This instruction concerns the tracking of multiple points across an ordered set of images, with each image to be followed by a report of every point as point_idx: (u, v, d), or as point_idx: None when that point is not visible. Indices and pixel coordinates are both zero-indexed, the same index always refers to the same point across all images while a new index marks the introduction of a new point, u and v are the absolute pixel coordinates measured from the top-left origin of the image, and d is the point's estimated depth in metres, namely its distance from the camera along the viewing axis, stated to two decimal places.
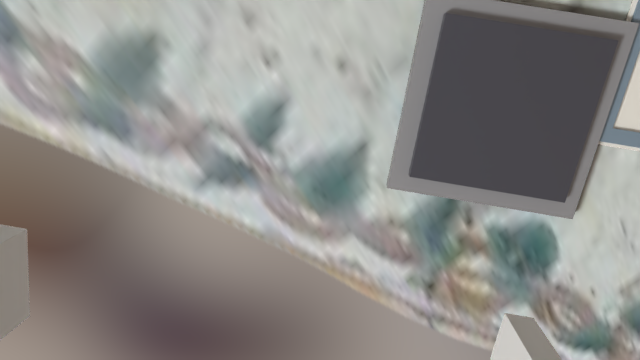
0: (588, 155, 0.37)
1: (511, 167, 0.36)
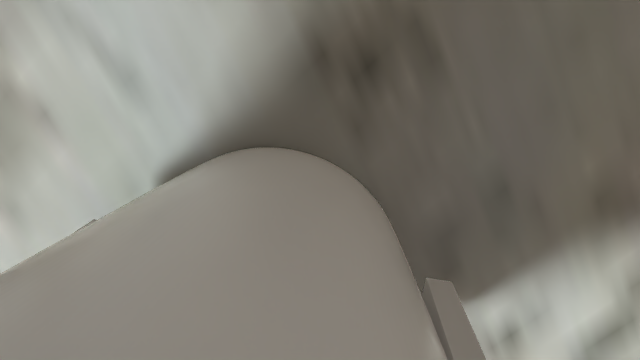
0: None
1: None
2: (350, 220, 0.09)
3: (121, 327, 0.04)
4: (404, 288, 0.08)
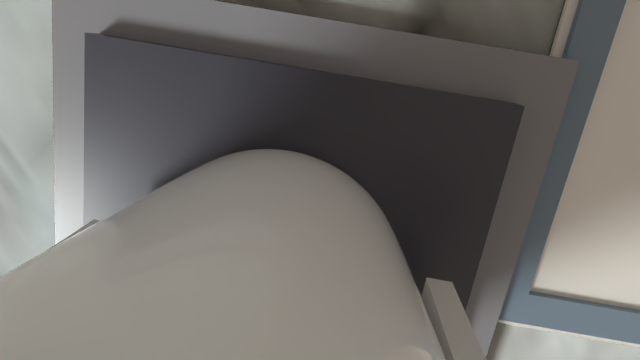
0: None
1: None
2: (349, 223, 0.09)
3: (117, 334, 0.04)
4: (404, 291, 0.08)
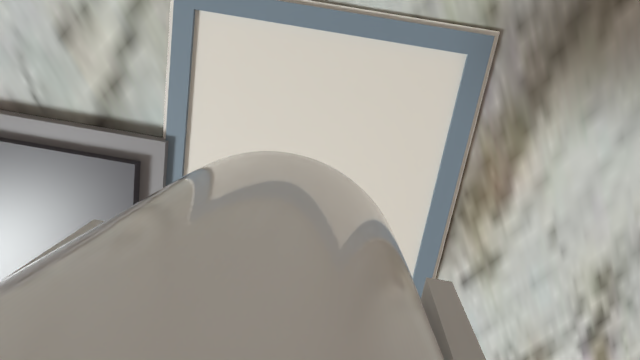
0: None
1: None
2: (349, 226, 0.09)
3: (119, 342, 0.04)
4: (403, 295, 0.08)
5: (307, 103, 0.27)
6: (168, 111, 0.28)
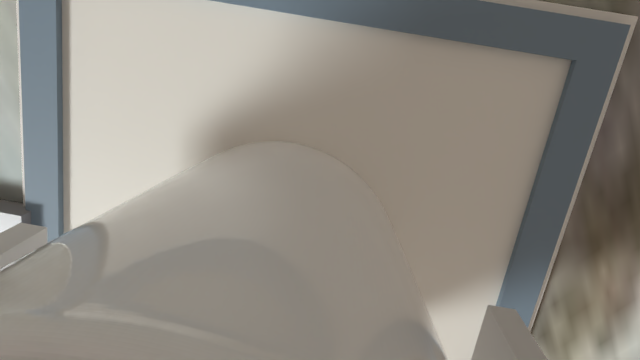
0: None
1: None
2: (347, 201, 0.10)
3: (172, 261, 0.05)
4: (394, 257, 0.09)
5: None
6: (26, 161, 0.15)
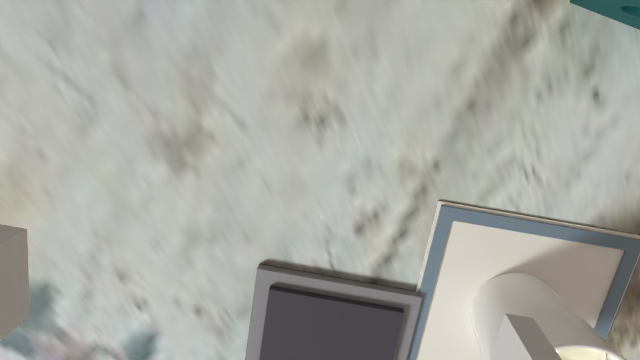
0: None
1: None
2: (569, 306, 0.37)
3: (577, 331, 0.32)
4: None
5: None
6: (424, 277, 0.43)
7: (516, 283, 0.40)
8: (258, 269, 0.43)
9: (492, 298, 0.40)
